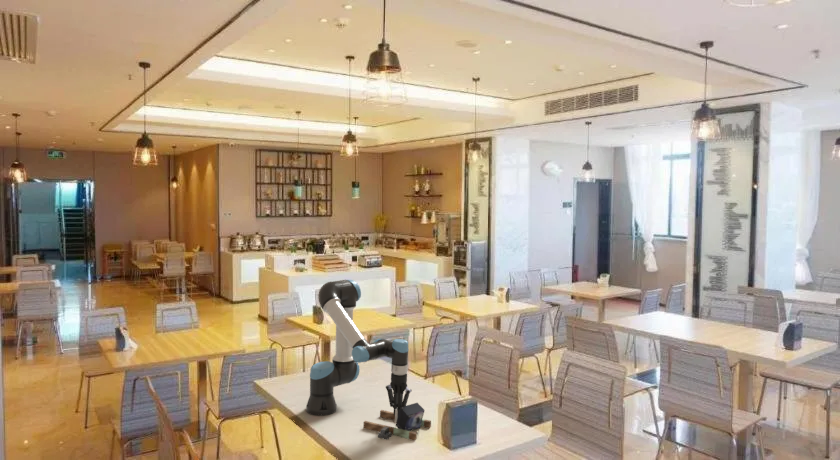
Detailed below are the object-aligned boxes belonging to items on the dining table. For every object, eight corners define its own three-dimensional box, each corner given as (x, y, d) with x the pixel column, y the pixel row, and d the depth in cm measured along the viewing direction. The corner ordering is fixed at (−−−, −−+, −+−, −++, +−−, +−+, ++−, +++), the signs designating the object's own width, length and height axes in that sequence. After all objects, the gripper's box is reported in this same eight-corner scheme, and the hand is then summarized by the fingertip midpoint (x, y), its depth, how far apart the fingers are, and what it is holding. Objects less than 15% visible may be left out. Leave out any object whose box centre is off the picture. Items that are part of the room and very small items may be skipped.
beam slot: (363, 428, 271) (363, 421, 271) (381, 415, 287) (381, 409, 286) (414, 440, 260) (415, 433, 259) (430, 426, 275) (431, 420, 275)
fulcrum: (377, 437, 262) (377, 428, 261) (382, 434, 265) (382, 425, 265) (387, 439, 260) (387, 431, 259) (391, 436, 263) (391, 427, 263)
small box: (403, 434, 266) (407, 415, 263) (394, 425, 271) (399, 407, 267) (420, 428, 273) (425, 409, 270) (412, 420, 278) (417, 401, 274)
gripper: (383, 372, 270) (381, 422, 272) (407, 377, 265) (405, 427, 266) (391, 368, 277) (389, 416, 278) (414, 373, 271) (412, 422, 273)
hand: (397, 422), depth 272 cm, fingers closed
